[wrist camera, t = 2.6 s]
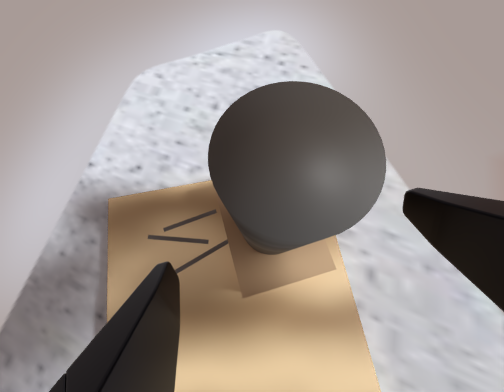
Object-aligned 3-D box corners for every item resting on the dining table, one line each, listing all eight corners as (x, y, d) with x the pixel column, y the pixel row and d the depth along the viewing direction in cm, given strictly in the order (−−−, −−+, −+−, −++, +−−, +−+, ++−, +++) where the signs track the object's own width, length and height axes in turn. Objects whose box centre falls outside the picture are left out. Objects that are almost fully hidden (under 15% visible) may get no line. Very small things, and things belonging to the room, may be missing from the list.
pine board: (397, 483, 13) (416, 512, 11) (122, 543, 12) (103, 581, 11) (309, 169, 18) (314, 161, 17) (120, 203, 18) (108, 198, 16)
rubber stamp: (323, 267, 15) (523, 289, 4) (245, 292, 14) (201, 397, 3) (289, 175, 17) (350, 7, 6) (219, 195, 16) (140, 58, 5)
